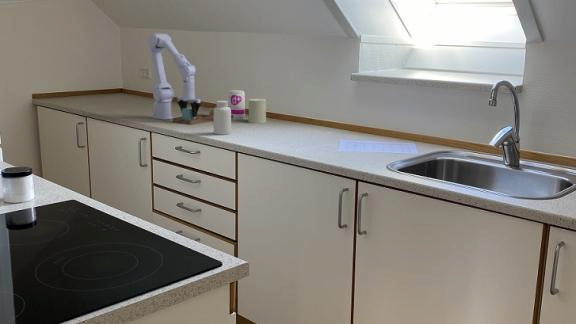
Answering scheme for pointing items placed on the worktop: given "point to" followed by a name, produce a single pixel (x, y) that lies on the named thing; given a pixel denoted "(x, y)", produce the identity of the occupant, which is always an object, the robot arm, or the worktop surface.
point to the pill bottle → (222, 118)
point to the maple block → (211, 111)
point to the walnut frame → (199, 119)
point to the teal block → (187, 113)
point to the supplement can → (237, 104)
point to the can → (257, 110)
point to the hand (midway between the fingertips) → (189, 116)
